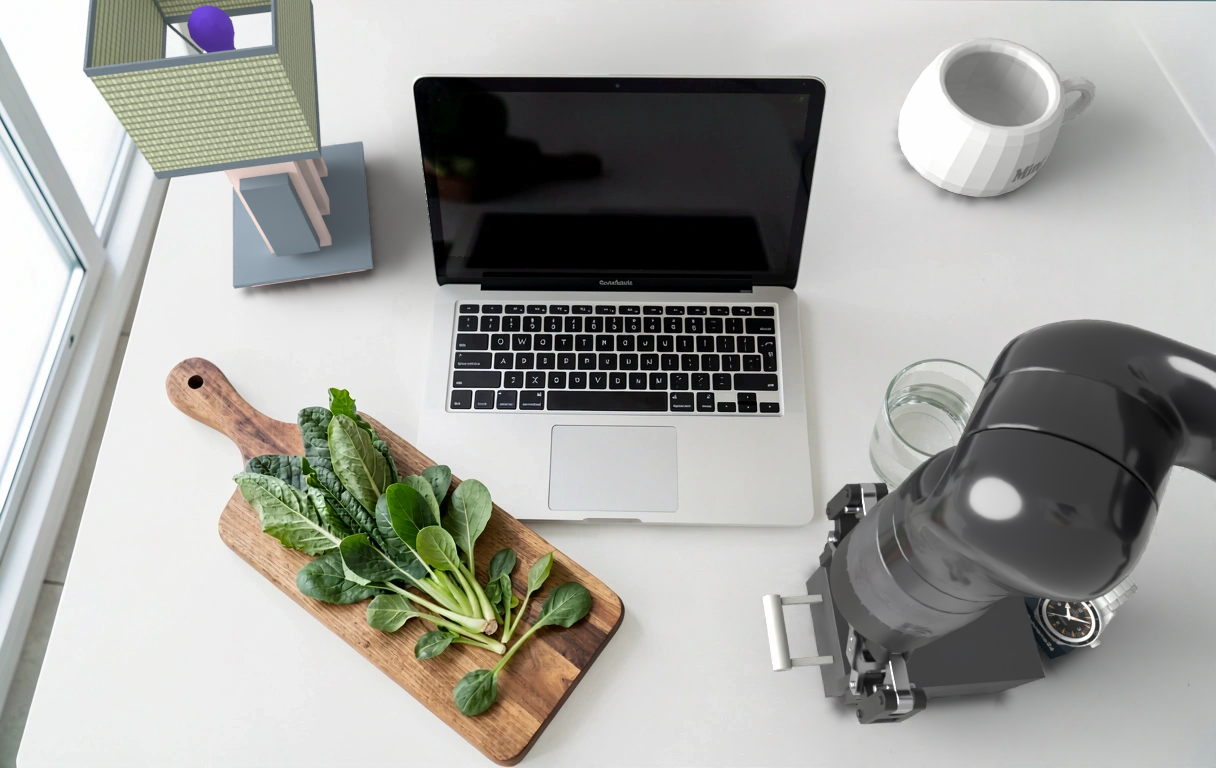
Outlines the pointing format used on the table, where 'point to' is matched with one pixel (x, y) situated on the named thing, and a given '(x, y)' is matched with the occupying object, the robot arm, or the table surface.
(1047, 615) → the watch
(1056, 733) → the table surface
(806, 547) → the table surface
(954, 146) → the mug
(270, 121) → the desk lamp
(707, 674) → the table surface
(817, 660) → the drawer
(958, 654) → the grey square sleeve
